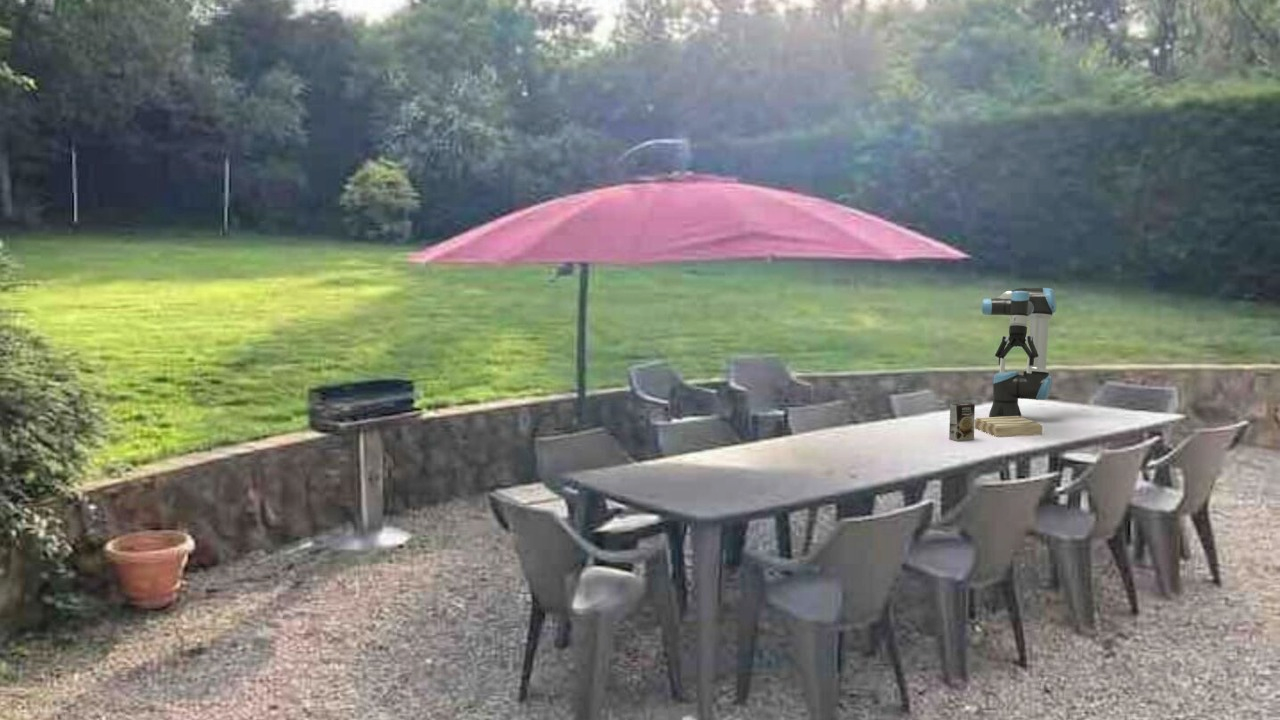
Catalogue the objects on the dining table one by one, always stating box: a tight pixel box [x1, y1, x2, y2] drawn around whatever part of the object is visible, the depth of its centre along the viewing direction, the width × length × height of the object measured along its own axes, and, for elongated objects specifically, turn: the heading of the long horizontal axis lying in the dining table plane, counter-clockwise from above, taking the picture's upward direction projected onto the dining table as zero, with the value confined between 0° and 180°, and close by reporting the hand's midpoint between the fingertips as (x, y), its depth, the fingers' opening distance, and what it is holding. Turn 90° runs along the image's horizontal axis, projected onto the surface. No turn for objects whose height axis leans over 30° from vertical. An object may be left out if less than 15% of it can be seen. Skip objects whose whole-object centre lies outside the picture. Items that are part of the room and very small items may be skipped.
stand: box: [974, 416, 1043, 438], centre depth 511 cm, size 22×22×5 cm
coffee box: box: [948, 402, 976, 442], centre depth 494 cm, size 9×6×16 cm
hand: (1015, 373), depth 492 cm, fingers open, 13 cm apart
